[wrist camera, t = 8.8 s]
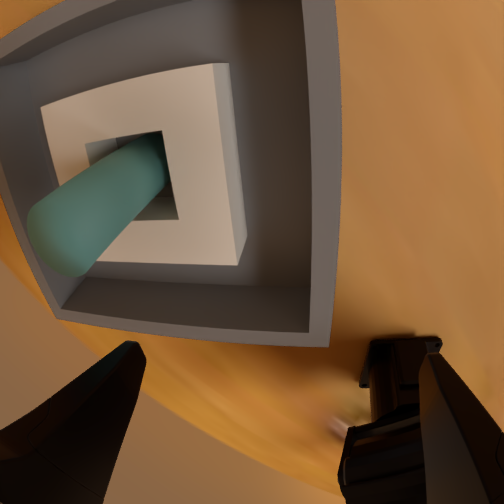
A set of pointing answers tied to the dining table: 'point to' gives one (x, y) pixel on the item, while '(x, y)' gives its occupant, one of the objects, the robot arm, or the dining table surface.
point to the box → (187, 160)
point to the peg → (97, 205)
